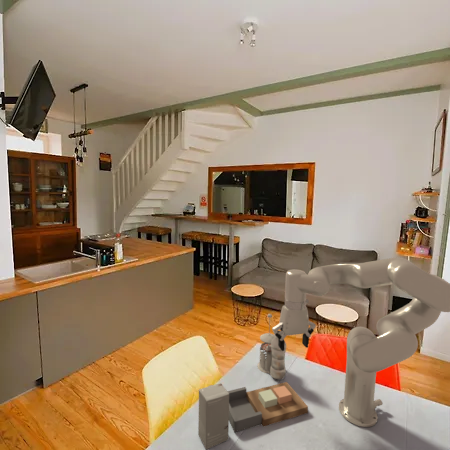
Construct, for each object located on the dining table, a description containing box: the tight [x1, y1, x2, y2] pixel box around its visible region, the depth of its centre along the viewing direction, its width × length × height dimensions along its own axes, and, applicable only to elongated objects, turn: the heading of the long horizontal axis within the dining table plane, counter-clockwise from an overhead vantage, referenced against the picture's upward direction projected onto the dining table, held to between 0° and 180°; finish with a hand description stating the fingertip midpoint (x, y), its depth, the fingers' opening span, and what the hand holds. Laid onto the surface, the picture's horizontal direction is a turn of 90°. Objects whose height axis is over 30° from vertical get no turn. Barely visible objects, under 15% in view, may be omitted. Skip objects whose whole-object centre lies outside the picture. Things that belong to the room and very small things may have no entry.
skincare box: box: [197, 382, 230, 450], centre depth 90 cm, size 8×7×16 cm
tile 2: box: [273, 386, 292, 404], centre depth 105 cm, size 5×5×2 cm
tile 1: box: [259, 389, 277, 408], centre depth 103 cm, size 5×5×2 cm
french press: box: [257, 313, 275, 375], centre depth 125 cm, size 10×12×25 cm
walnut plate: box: [246, 381, 309, 427], centre depth 105 cm, size 18×14×2 cm
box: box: [227, 386, 262, 433], centre depth 101 cm, size 10×14×4 cm
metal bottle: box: [270, 330, 287, 381], centre depth 120 cm, size 6×7×20 cm
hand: (293, 347), depth 106 cm, fingers open, 9 cm apart
